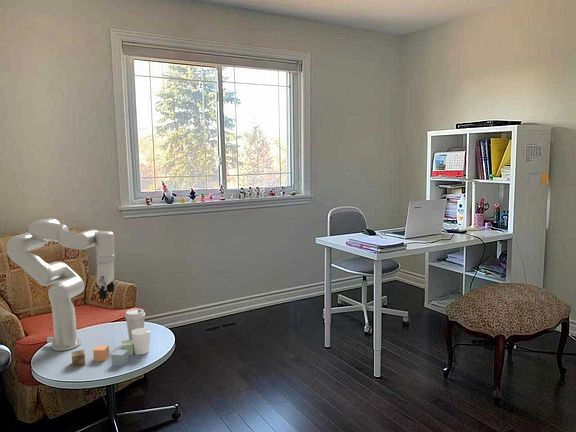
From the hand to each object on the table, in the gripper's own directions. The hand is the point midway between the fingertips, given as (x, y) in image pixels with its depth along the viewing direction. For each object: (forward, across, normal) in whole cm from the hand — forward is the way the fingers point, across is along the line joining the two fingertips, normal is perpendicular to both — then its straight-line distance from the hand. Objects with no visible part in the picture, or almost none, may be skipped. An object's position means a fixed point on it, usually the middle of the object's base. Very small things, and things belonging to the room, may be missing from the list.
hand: (106, 295), depth 207 cm
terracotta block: (+26, +9, 0) cm, 28 cm away
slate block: (+26, +14, +10) cm, 31 cm away
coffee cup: (+26, -9, +10) cm, 30 cm away
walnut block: (+27, +14, -8) cm, 31 cm away
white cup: (+26, +3, +16) cm, 31 cm away
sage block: (+26, +4, +10) cm, 28 cm away
